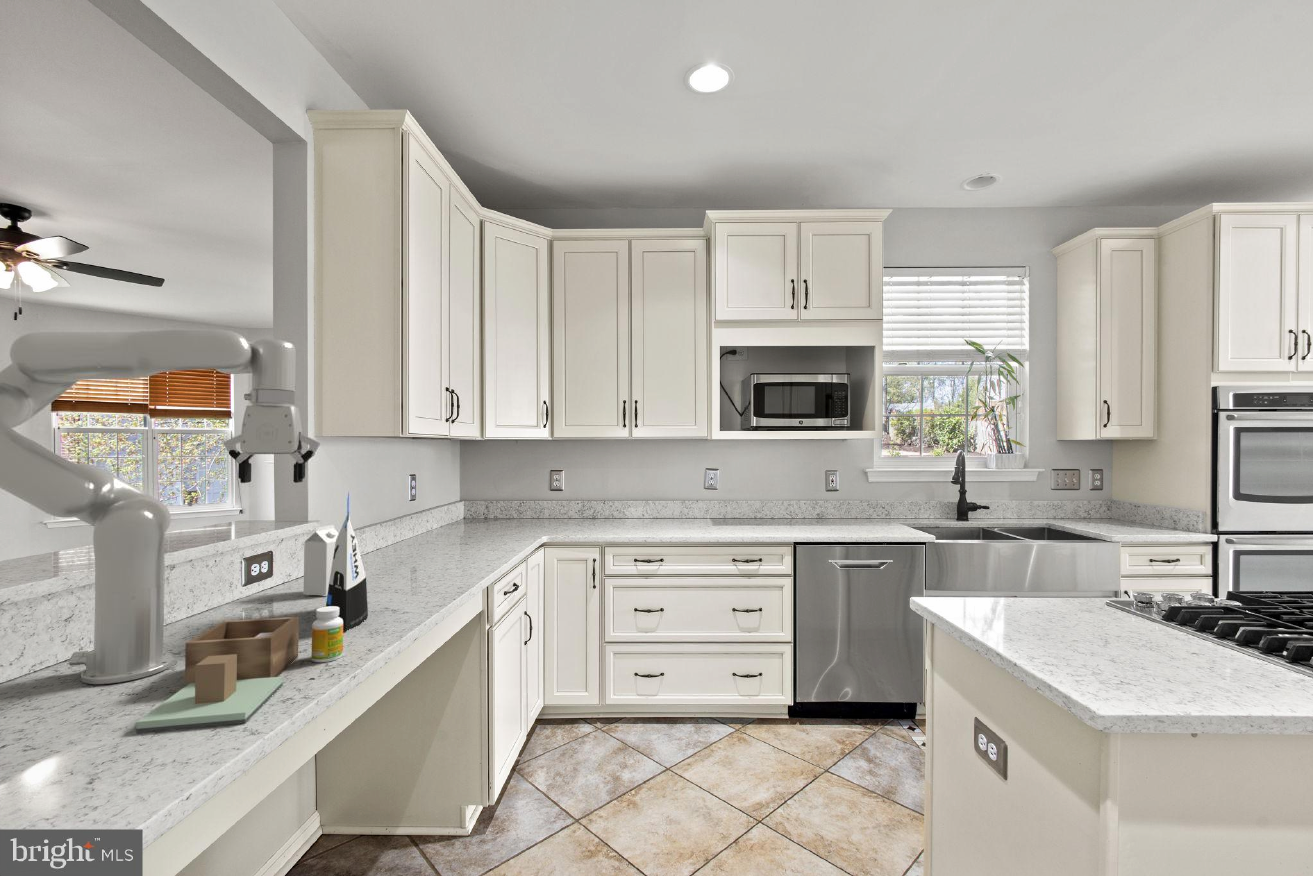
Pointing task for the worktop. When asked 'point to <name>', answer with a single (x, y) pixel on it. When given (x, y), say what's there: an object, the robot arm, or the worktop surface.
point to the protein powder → (348, 578)
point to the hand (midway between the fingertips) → (272, 482)
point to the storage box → (247, 646)
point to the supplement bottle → (327, 635)
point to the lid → (212, 696)
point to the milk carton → (319, 560)
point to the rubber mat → (208, 722)
